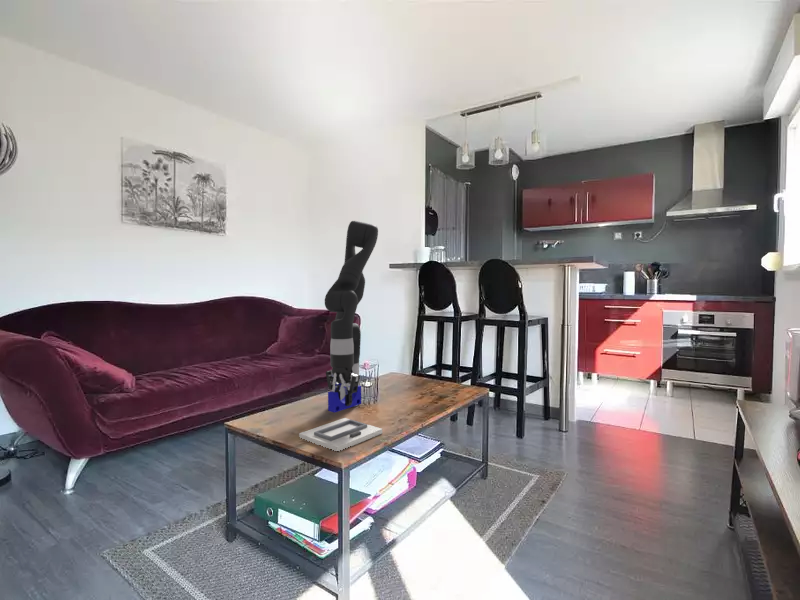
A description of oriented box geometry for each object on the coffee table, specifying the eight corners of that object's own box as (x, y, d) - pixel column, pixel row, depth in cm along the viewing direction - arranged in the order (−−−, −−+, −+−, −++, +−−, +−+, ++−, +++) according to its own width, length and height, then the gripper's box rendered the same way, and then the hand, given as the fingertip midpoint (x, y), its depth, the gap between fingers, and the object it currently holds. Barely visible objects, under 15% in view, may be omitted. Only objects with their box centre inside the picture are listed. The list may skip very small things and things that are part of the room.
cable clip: (351, 401, 144) (351, 383, 143) (361, 403, 141) (361, 385, 141) (325, 409, 134) (324, 391, 134) (334, 412, 131) (334, 393, 131)
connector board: (299, 437, 136) (299, 430, 136) (344, 421, 151) (344, 415, 151) (337, 452, 124) (337, 443, 124) (382, 433, 140) (382, 425, 140)
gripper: (366, 352, 135) (366, 405, 136) (335, 348, 144) (336, 398, 145) (349, 355, 129) (350, 410, 130) (318, 351, 138) (319, 403, 139)
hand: (342, 403), depth 137 cm, fingers closed on cable clip, 4 cm apart
